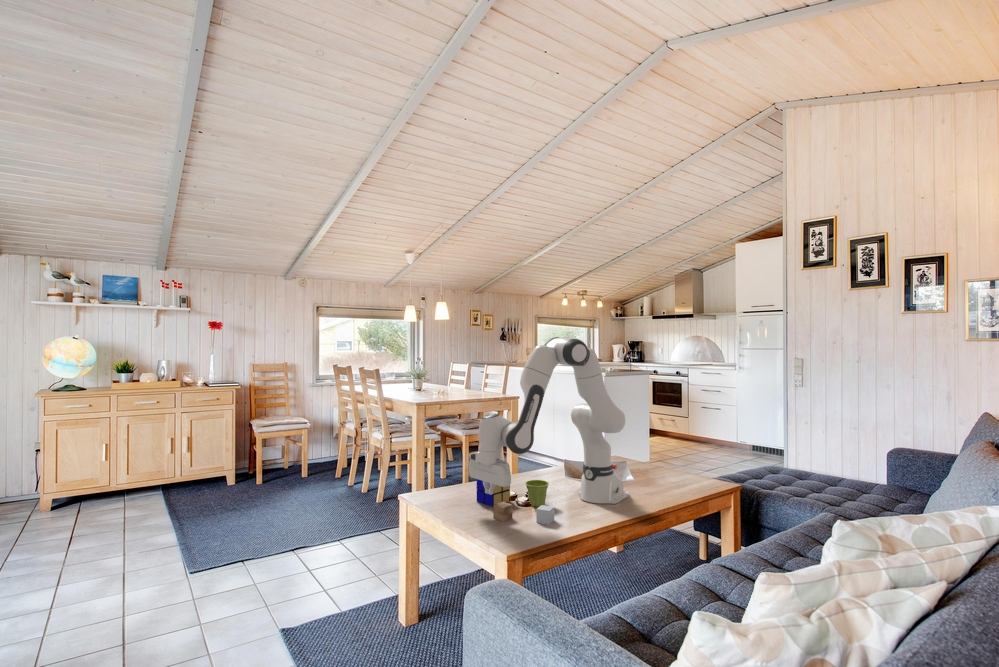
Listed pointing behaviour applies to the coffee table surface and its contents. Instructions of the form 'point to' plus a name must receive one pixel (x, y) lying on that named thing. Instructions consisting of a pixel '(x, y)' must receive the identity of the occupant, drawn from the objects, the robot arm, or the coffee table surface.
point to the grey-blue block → (545, 514)
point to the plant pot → (537, 492)
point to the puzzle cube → (497, 497)
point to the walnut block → (502, 511)
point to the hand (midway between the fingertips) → (489, 493)
